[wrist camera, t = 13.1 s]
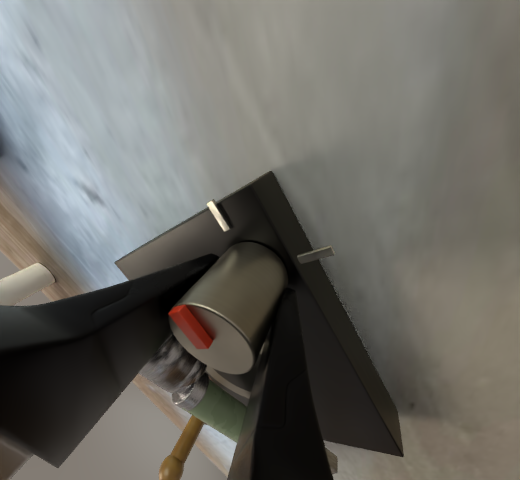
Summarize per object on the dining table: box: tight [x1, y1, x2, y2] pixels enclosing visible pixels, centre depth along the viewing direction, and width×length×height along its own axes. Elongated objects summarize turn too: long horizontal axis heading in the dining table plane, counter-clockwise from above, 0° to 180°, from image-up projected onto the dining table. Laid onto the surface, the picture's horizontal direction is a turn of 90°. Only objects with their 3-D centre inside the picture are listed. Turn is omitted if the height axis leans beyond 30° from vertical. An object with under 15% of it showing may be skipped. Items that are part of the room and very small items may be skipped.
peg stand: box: [159, 375, 216, 480], centre depth 22 cm, size 8×8×8 cm
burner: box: [206, 342, 265, 399], centre depth 14 cm, size 8×8×1 cm
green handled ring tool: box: [139, 332, 338, 474], centre depth 15 cm, size 21×6×4 cm, turn 36°
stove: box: [115, 171, 404, 457], centre depth 14 cm, size 18×14×3 cm
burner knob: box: [168, 242, 288, 374], centre depth 8 cm, size 3×3×4 cm
